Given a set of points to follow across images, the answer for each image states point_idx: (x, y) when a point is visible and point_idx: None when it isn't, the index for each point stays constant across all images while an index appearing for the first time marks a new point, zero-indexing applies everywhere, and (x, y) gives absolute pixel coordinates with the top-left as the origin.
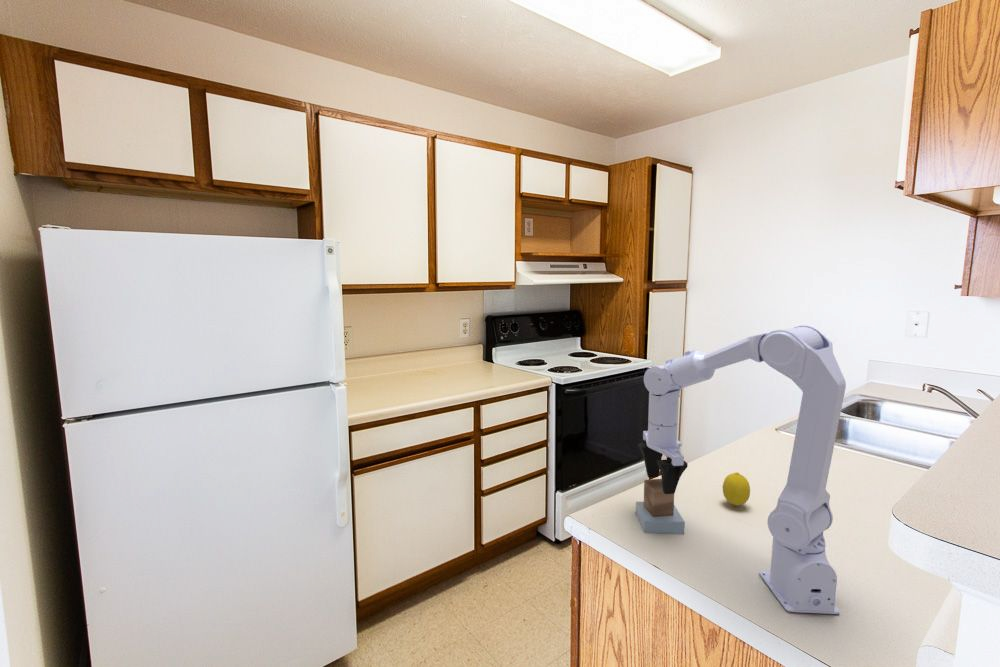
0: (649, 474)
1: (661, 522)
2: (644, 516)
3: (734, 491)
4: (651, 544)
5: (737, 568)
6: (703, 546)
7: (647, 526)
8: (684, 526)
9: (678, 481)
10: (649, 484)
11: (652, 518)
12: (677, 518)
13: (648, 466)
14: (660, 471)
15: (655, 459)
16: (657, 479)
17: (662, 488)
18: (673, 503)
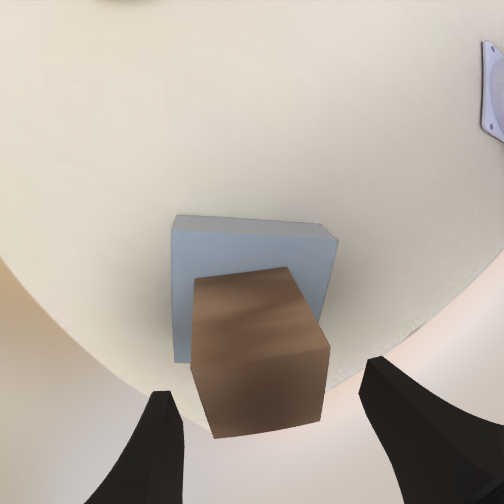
0: (182, 435)
1: (318, 315)
2: None
3: None
4: (350, 329)
5: (463, 160)
6: (388, 194)
7: None
8: (330, 233)
9: (431, 392)
10: (267, 430)
11: None
12: (310, 258)
13: (180, 477)
14: (403, 491)
15: (165, 500)
16: (206, 398)
17: (319, 394)
18: (302, 296)
